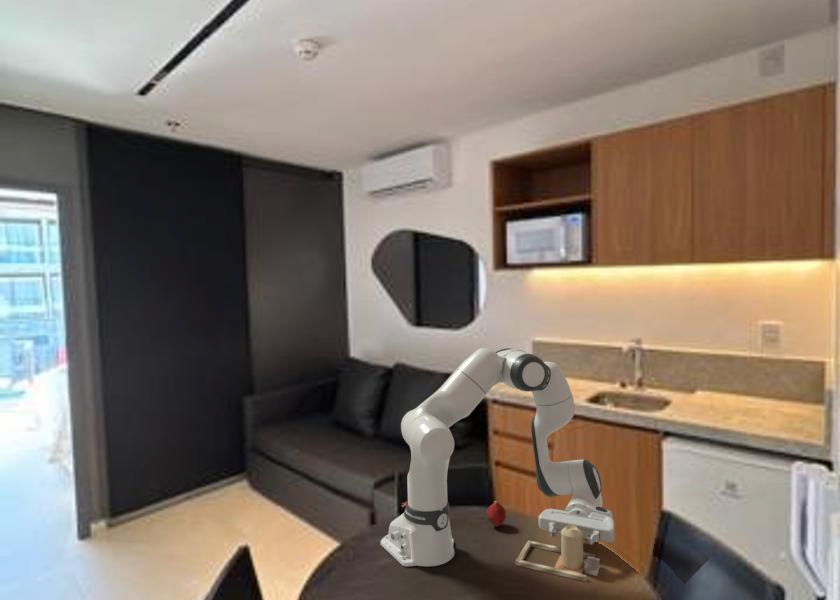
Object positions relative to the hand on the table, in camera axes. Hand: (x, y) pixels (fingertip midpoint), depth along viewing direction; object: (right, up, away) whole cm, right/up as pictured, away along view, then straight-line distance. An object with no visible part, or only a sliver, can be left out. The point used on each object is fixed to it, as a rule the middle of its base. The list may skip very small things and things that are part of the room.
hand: (570, 537), depth 134 cm
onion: (-16, -7, +23) cm, 29 cm away
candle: (0, -7, 0) cm, 7 cm away
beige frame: (-3, -7, +2) cm, 8 cm away
